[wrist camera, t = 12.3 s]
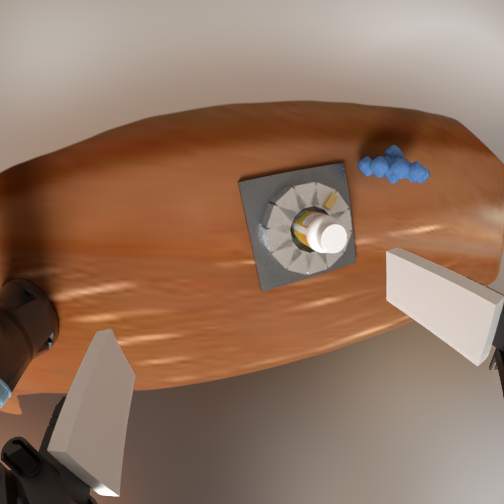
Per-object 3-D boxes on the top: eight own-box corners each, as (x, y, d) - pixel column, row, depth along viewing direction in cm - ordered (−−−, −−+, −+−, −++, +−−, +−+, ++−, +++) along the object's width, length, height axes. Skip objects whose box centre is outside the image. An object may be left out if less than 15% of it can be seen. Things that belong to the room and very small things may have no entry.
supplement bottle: (318, 243, 45) (347, 260, 36) (288, 240, 44) (313, 257, 35) (323, 211, 44) (355, 221, 35) (293, 207, 43) (320, 215, 34)
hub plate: (260, 289, 46) (267, 300, 42) (237, 182, 41) (243, 182, 37) (353, 261, 49) (366, 268, 45) (341, 162, 43) (355, 162, 39)
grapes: (396, 151, 45) (441, 150, 34) (395, 185, 47) (440, 191, 36) (347, 140, 43) (391, 134, 31) (346, 178, 44) (390, 182, 33)
